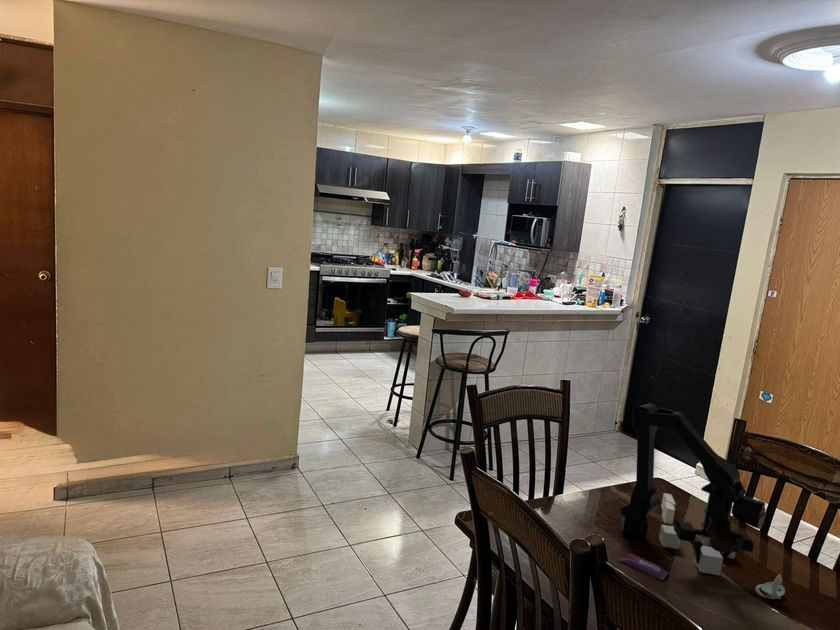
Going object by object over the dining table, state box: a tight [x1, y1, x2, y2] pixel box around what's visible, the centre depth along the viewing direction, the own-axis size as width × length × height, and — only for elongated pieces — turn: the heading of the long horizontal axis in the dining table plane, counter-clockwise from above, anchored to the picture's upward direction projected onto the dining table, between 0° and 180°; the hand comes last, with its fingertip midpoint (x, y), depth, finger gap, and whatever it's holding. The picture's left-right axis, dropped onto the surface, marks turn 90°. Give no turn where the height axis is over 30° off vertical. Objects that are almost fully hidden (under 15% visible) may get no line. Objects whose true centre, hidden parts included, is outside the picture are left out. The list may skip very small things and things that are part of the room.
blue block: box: [694, 545, 724, 576], centre depth 156 cm, size 5×5×5 cm
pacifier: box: [755, 574, 786, 600], centre depth 148 cm, size 7×6×6 cm
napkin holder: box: [660, 492, 677, 525], centre depth 185 cm, size 15×11×6 cm
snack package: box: [619, 553, 669, 581], centre depth 154 cm, size 12×2×5 cm
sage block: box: [658, 524, 682, 550], centre depth 168 cm, size 4×4×4 cm
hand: (707, 564), depth 156 cm, fingers closed on blue block, 5 cm apart
